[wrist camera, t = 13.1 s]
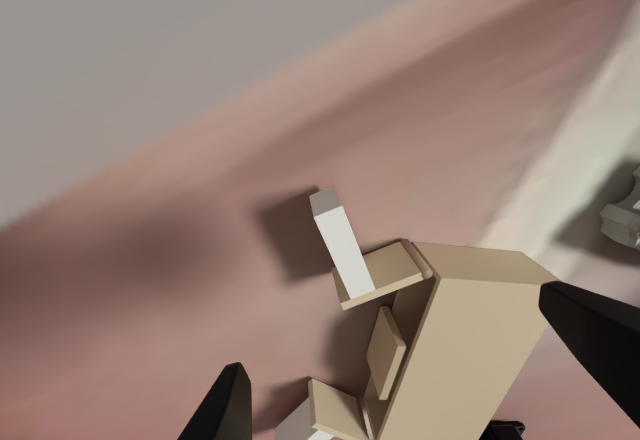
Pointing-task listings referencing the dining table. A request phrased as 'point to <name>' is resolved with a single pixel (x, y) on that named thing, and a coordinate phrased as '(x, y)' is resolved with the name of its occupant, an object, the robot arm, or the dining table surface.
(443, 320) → the carton
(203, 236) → the dining table surface
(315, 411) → the flap
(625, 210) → the egg carton
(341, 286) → the flap
